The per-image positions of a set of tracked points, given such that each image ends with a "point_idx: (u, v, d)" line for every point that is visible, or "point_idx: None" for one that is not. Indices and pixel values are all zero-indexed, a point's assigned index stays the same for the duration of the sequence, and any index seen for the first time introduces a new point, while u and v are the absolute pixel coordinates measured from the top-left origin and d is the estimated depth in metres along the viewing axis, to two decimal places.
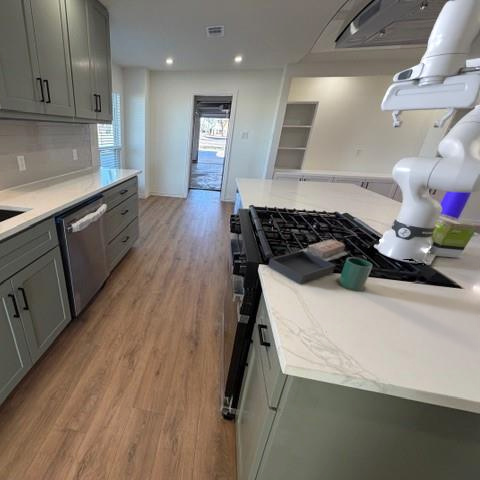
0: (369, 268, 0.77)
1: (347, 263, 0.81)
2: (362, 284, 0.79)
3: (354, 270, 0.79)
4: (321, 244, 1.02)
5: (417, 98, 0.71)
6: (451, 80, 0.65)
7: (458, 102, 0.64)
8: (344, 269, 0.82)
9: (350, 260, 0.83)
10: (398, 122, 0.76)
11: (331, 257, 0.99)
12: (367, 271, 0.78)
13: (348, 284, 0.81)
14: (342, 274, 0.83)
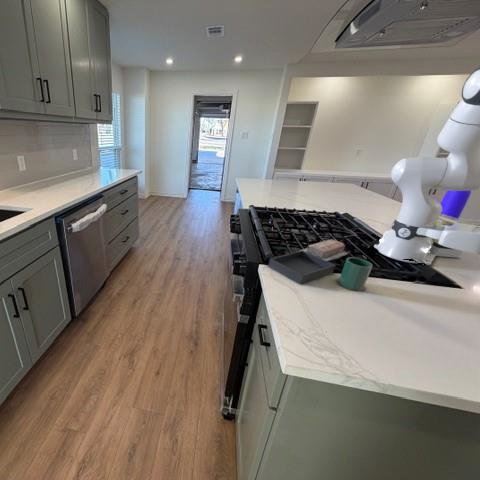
0: (369, 268, 0.77)
1: (347, 263, 0.81)
2: (362, 284, 0.79)
3: (354, 270, 0.79)
4: (321, 244, 1.02)
5: None
6: None
7: None
8: (344, 269, 0.82)
9: (350, 260, 0.83)
10: None
11: (331, 257, 0.99)
12: (367, 271, 0.78)
13: (348, 284, 0.81)
14: (342, 274, 0.83)
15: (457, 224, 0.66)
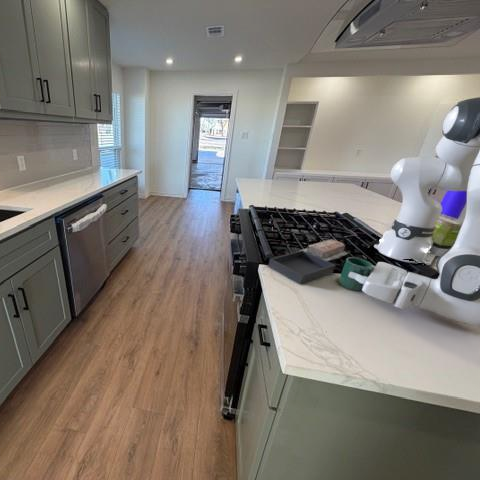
0: (369, 268, 0.77)
1: (347, 263, 0.81)
2: (362, 284, 0.79)
3: (354, 270, 0.79)
4: (321, 244, 1.02)
5: None
6: None
7: None
8: (344, 269, 0.82)
9: (350, 260, 0.83)
10: None
11: (331, 257, 0.99)
12: (367, 271, 0.78)
13: (348, 284, 0.81)
14: (342, 274, 0.83)
15: (379, 265, 0.81)
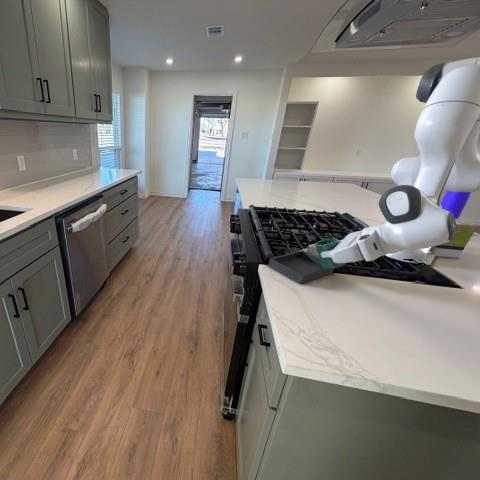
0: (334, 243, 0.83)
1: (316, 247, 0.87)
2: None
3: (323, 250, 0.84)
4: None
5: None
6: None
7: None
8: (318, 253, 0.87)
9: (320, 243, 0.89)
10: None
11: None
12: (334, 246, 0.83)
13: (328, 264, 0.85)
14: None
15: (347, 236, 0.85)
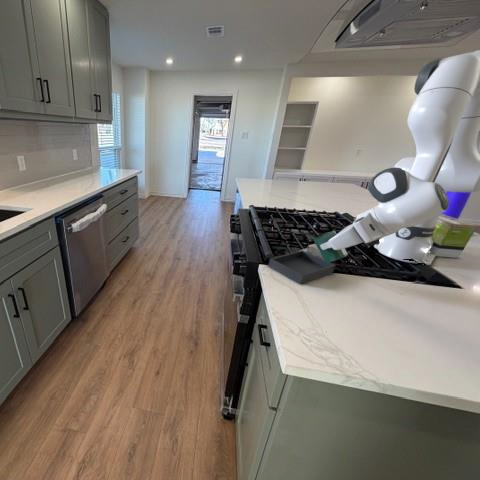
0: (332, 234, 0.82)
1: (314, 241, 0.86)
2: (340, 250, 0.81)
3: (322, 242, 0.83)
4: None
5: None
6: None
7: None
8: (318, 247, 0.86)
9: None
10: None
11: None
12: None
13: (330, 257, 0.82)
14: None
15: (344, 228, 0.85)
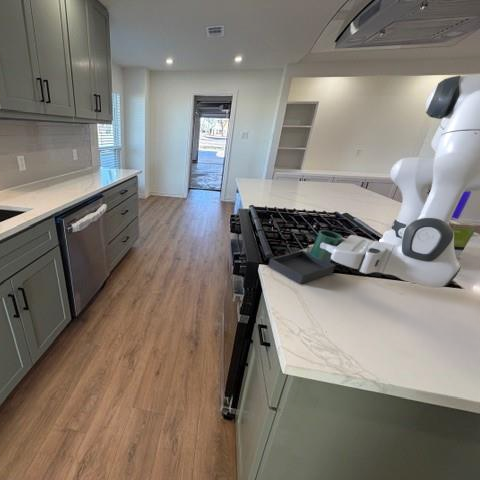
0: (338, 240, 0.81)
1: (319, 235, 0.84)
2: None
3: (324, 241, 0.82)
4: None
5: None
6: None
7: None
8: (316, 241, 0.86)
9: (323, 233, 0.87)
10: None
11: None
12: (336, 242, 0.81)
13: (318, 255, 0.85)
14: (314, 246, 0.87)
15: (350, 237, 0.84)
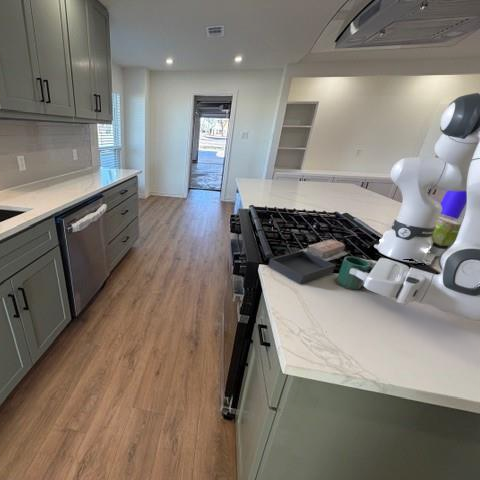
0: (366, 267, 0.78)
1: (345, 262, 0.81)
2: (359, 283, 0.80)
3: None
4: (321, 244, 1.02)
5: None
6: None
7: None
8: (342, 268, 0.82)
9: (348, 259, 0.84)
10: None
11: (331, 257, 0.99)
12: (364, 270, 0.78)
13: (345, 283, 0.81)
14: (340, 273, 0.83)
15: (381, 261, 0.80)
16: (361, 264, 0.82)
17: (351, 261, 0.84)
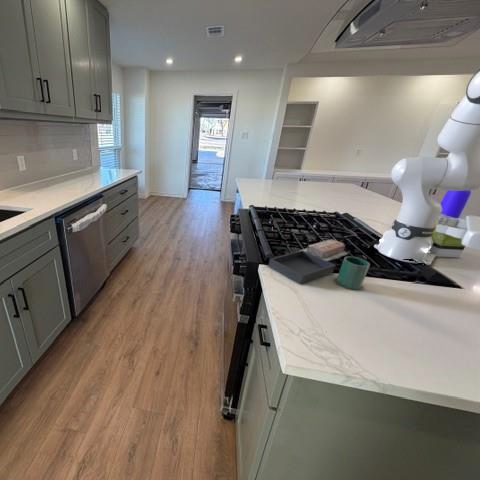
0: (366, 267, 0.78)
1: (345, 262, 0.81)
2: (359, 283, 0.80)
3: (351, 269, 0.79)
4: (321, 244, 1.02)
5: None
6: None
7: None
8: (342, 268, 0.82)
9: (348, 259, 0.84)
10: None
11: (331, 257, 0.99)
12: (364, 270, 0.78)
13: (345, 283, 0.81)
14: (340, 273, 0.83)
15: (472, 218, 0.64)
16: (361, 264, 0.82)
17: (351, 261, 0.84)
